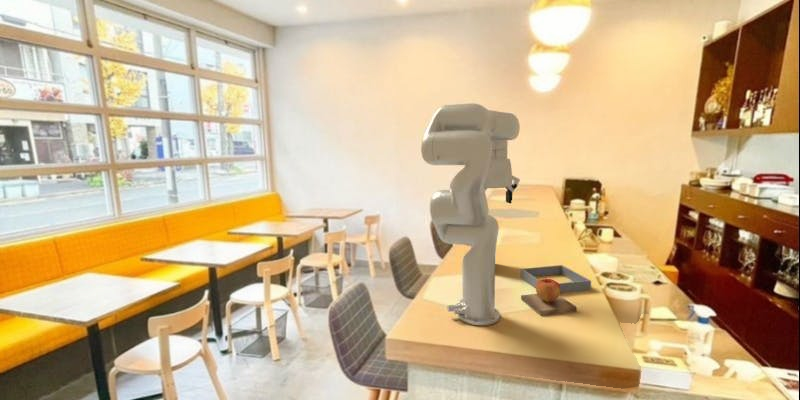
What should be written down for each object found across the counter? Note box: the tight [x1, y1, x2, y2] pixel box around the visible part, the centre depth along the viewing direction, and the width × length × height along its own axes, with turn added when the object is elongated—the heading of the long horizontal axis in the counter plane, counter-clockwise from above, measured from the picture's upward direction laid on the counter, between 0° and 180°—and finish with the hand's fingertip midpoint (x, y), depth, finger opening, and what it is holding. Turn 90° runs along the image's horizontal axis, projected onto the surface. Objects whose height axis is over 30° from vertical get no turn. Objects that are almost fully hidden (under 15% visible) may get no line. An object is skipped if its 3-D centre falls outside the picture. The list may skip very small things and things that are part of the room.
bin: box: [520, 264, 592, 295], centre depth 138 cm, size 17×17×4 cm
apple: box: [535, 275, 561, 303], centre depth 120 cm, size 7×7×8 cm
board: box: [520, 293, 577, 317], centre depth 121 cm, size 12×12×2 cm
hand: (495, 203), depth 134 cm, fingers open, 9 cm apart
